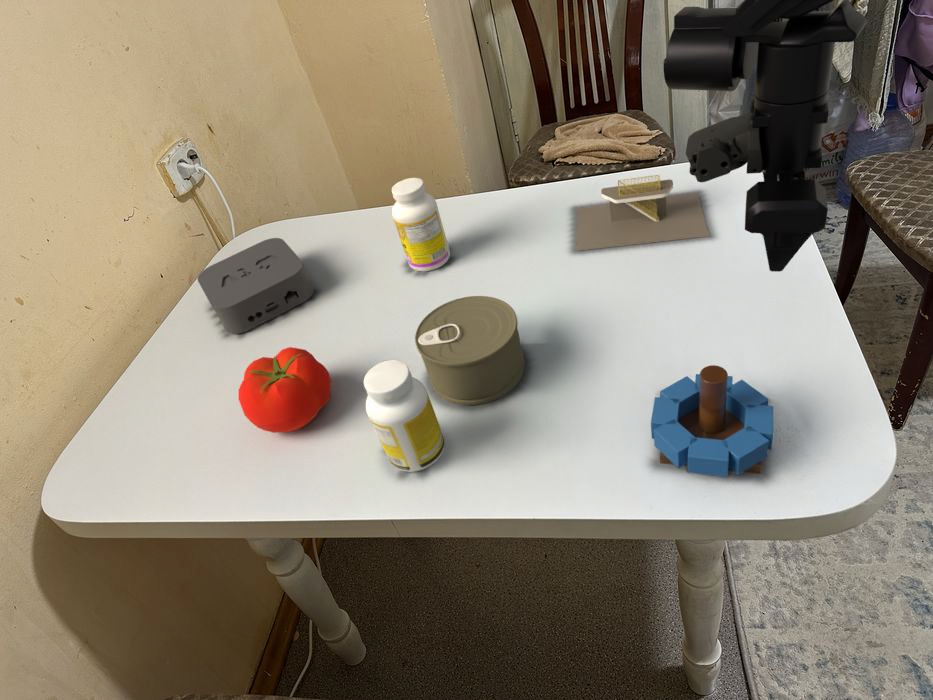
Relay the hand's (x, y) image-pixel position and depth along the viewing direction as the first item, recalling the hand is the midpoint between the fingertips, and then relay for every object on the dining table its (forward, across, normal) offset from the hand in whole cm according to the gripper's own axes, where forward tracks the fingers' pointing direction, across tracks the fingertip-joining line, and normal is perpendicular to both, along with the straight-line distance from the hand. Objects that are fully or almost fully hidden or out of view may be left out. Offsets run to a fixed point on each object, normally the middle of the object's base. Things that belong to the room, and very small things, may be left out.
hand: (775, 243), depth 67 cm
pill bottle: (+12, +22, -35) cm, 43 cm away
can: (+12, +9, -32) cm, 35 cm away
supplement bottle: (+12, -14, -47) cm, 51 cm away
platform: (+12, -24, -17) cm, 32 cm away
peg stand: (+12, +16, -5) cm, 20 cm away
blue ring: (+11, +16, -5) cm, 20 cm away
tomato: (+12, +18, -53) cm, 57 cm away
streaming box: (+12, -4, -72) cm, 73 cm away
